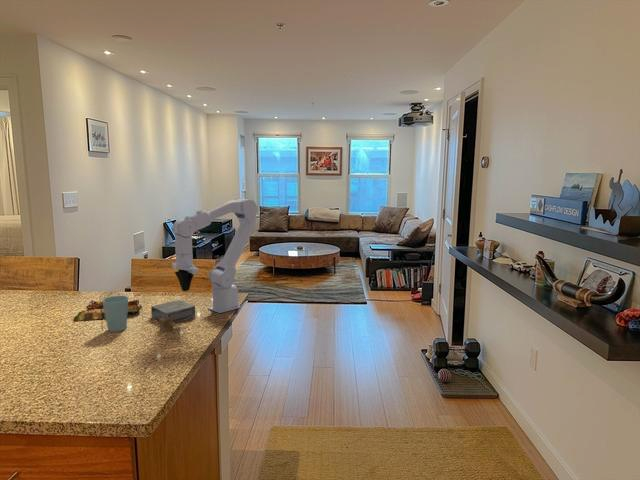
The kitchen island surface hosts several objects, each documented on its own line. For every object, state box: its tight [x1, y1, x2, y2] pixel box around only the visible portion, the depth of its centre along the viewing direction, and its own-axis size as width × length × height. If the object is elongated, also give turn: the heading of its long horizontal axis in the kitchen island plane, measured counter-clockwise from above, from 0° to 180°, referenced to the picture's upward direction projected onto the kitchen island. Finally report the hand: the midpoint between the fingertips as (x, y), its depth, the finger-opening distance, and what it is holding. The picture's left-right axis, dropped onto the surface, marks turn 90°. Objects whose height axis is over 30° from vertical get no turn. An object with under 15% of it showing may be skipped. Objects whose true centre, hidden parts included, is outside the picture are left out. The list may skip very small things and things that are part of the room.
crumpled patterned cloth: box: [73, 299, 143, 322], centre depth 151 cm, size 22×19×4 cm
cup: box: [101, 295, 129, 333], centre depth 134 cm, size 8×8×10 cm
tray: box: [169, 309, 193, 320], centre depth 146 cm, size 9×10×2 cm
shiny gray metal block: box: [150, 299, 196, 324], centre depth 146 cm, size 11×11×4 cm
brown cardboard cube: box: [158, 317, 174, 333], centre depth 134 cm, size 3×3×4 cm
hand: (185, 290), depth 146 cm, fingers closed
